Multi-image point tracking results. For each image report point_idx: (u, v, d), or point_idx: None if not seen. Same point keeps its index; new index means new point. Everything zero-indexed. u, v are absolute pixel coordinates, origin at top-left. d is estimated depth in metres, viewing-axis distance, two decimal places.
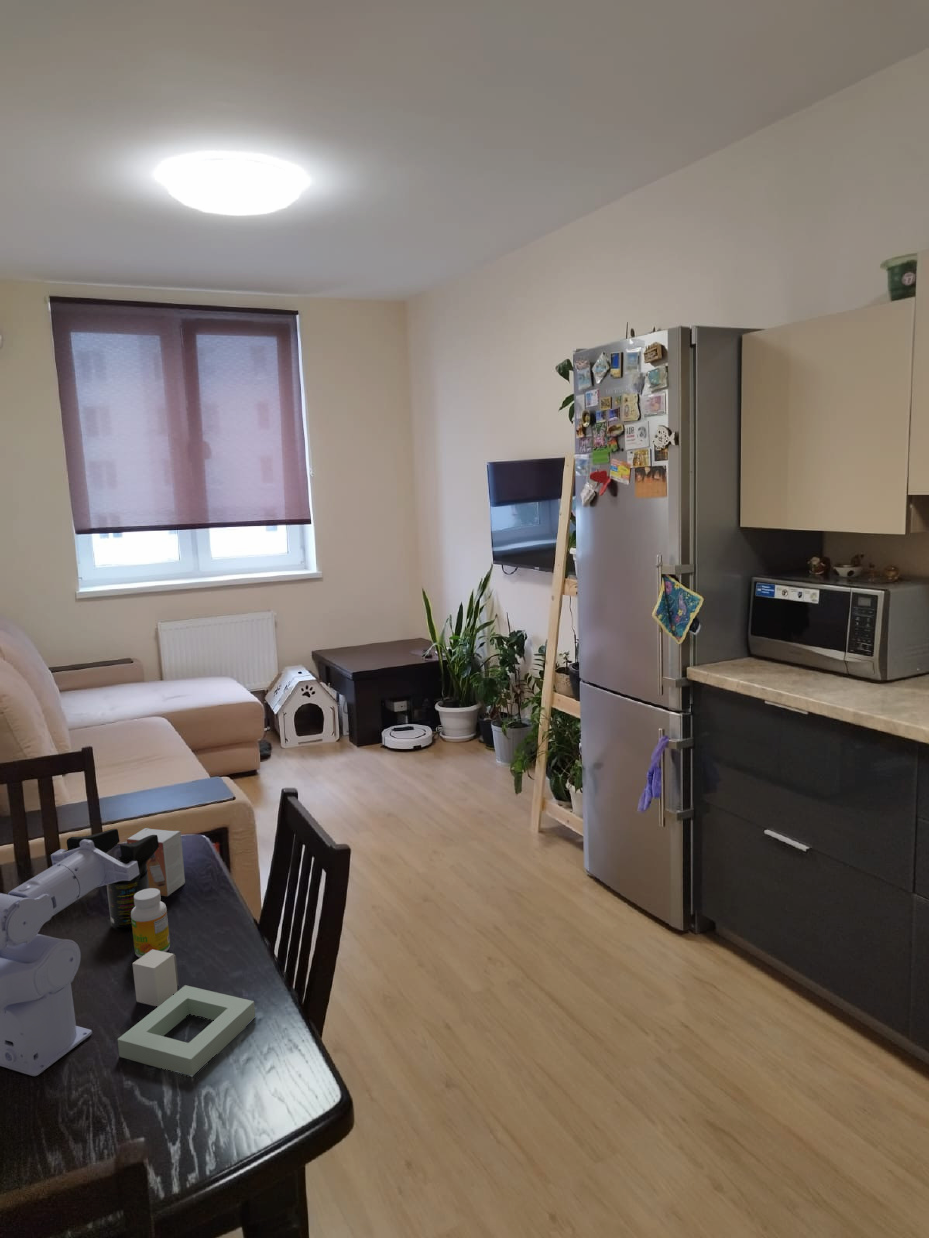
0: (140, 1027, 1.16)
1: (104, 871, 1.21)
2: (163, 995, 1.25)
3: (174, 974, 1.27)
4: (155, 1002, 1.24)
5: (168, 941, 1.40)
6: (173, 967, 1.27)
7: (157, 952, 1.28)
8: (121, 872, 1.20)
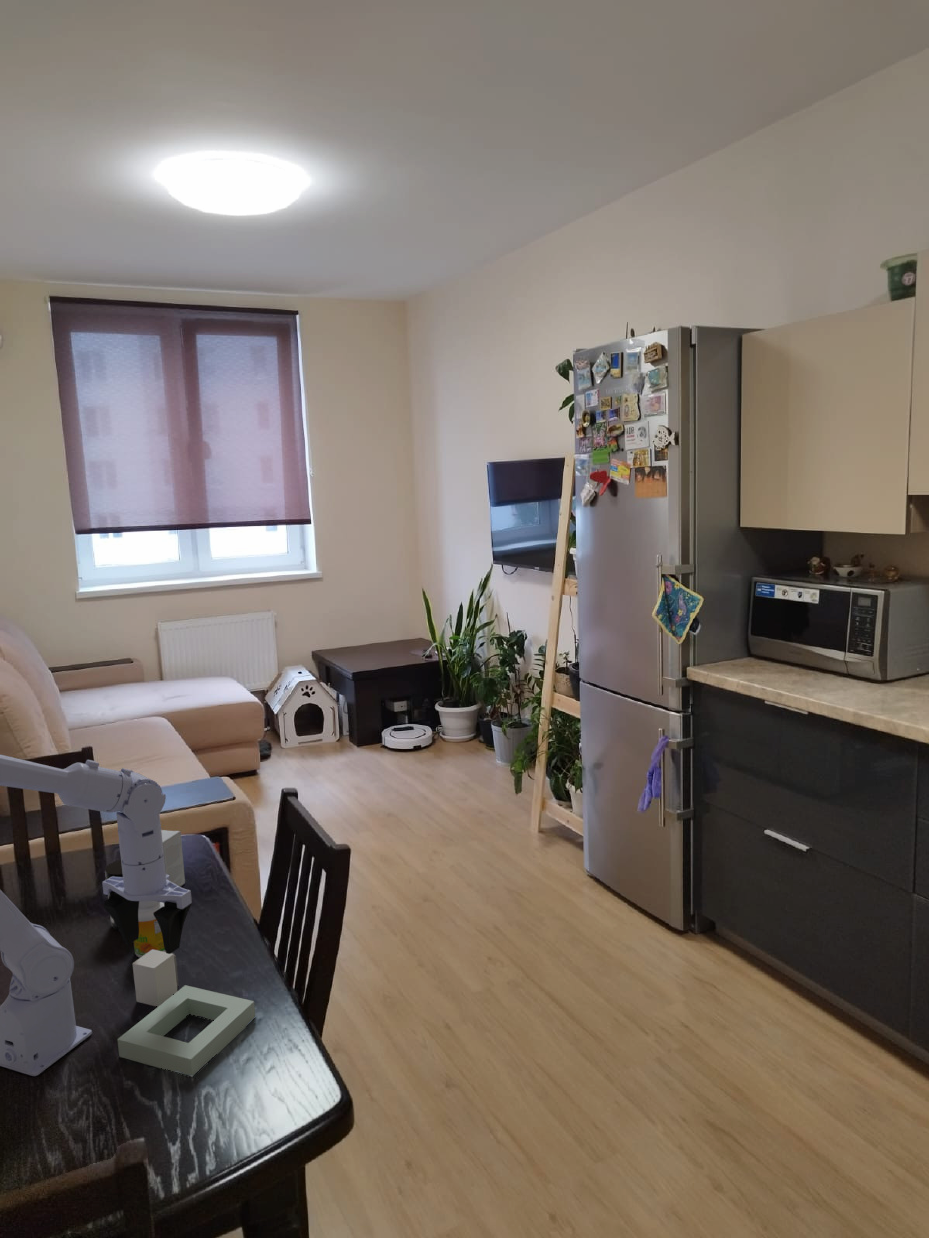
0: (140, 1027, 1.16)
1: (160, 888, 1.23)
2: (163, 995, 1.25)
3: (174, 974, 1.27)
4: (155, 1002, 1.24)
5: None
6: (173, 967, 1.27)
7: (157, 952, 1.28)
8: (178, 891, 1.22)
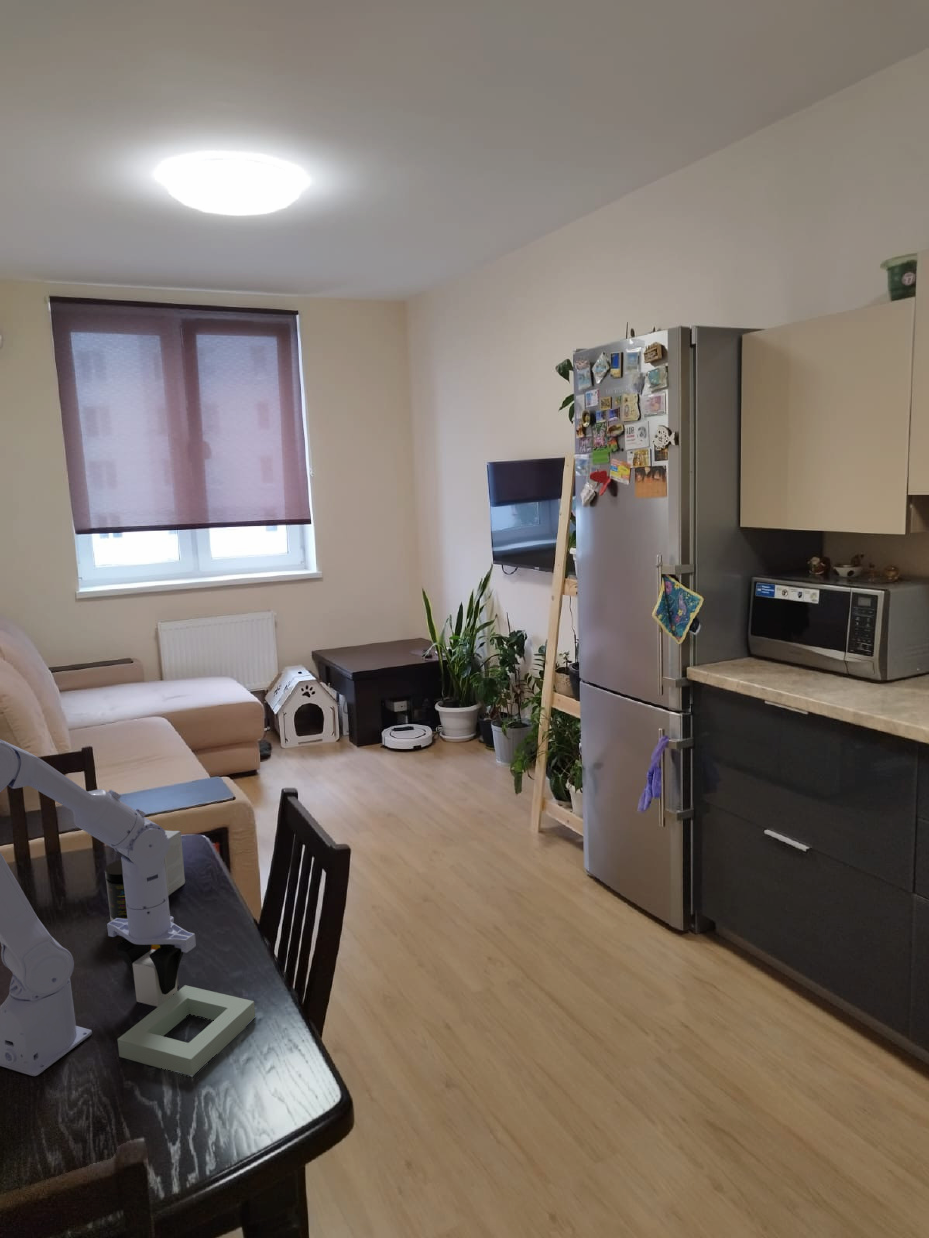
0: (140, 1027, 1.16)
1: (165, 931, 1.24)
2: (163, 995, 1.25)
3: None
4: (155, 1002, 1.24)
5: None
6: None
7: None
8: (183, 935, 1.23)
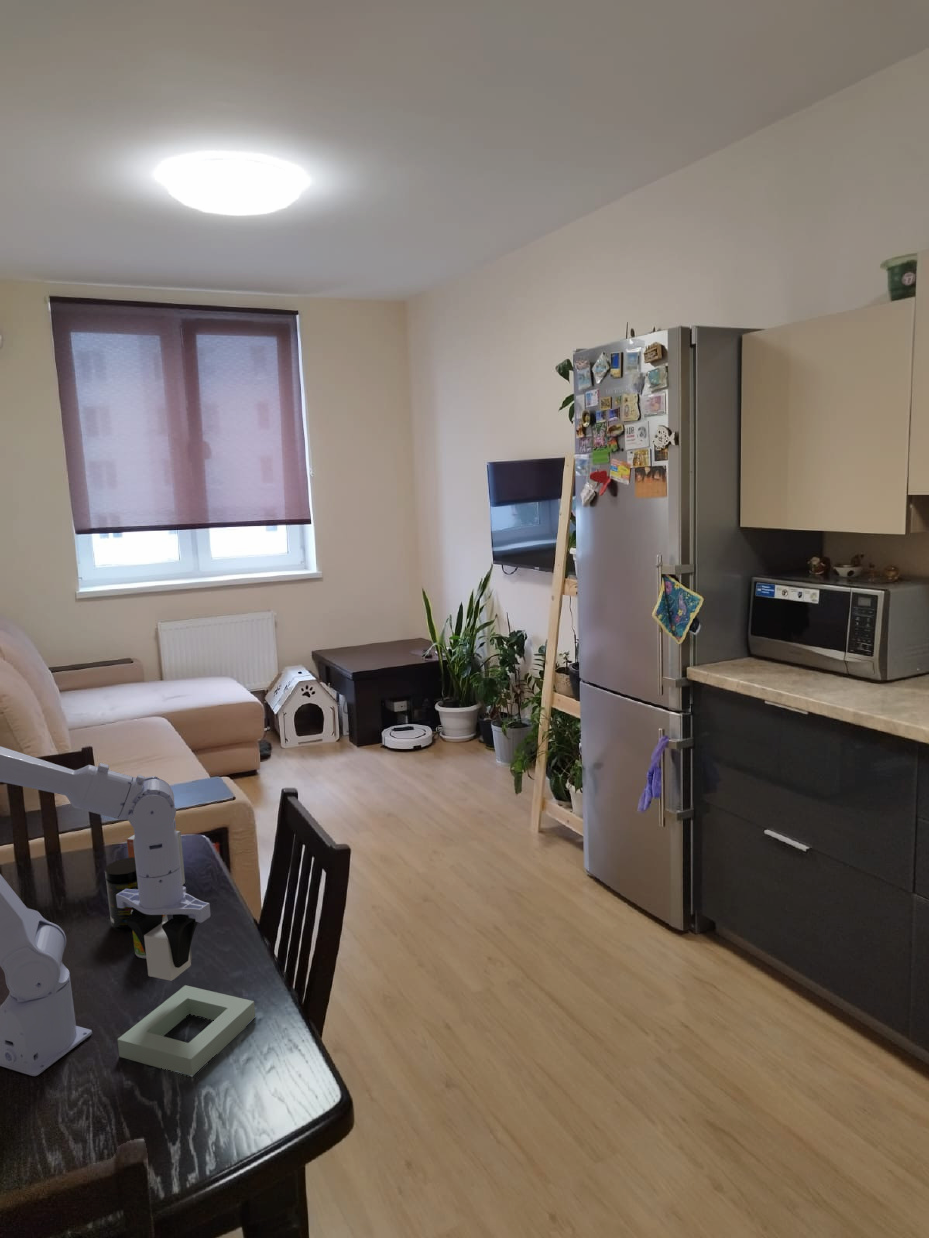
0: (140, 1027, 1.16)
1: (178, 901, 1.18)
2: (177, 969, 1.19)
3: None
4: (168, 976, 1.18)
5: None
6: None
7: None
8: (197, 904, 1.17)
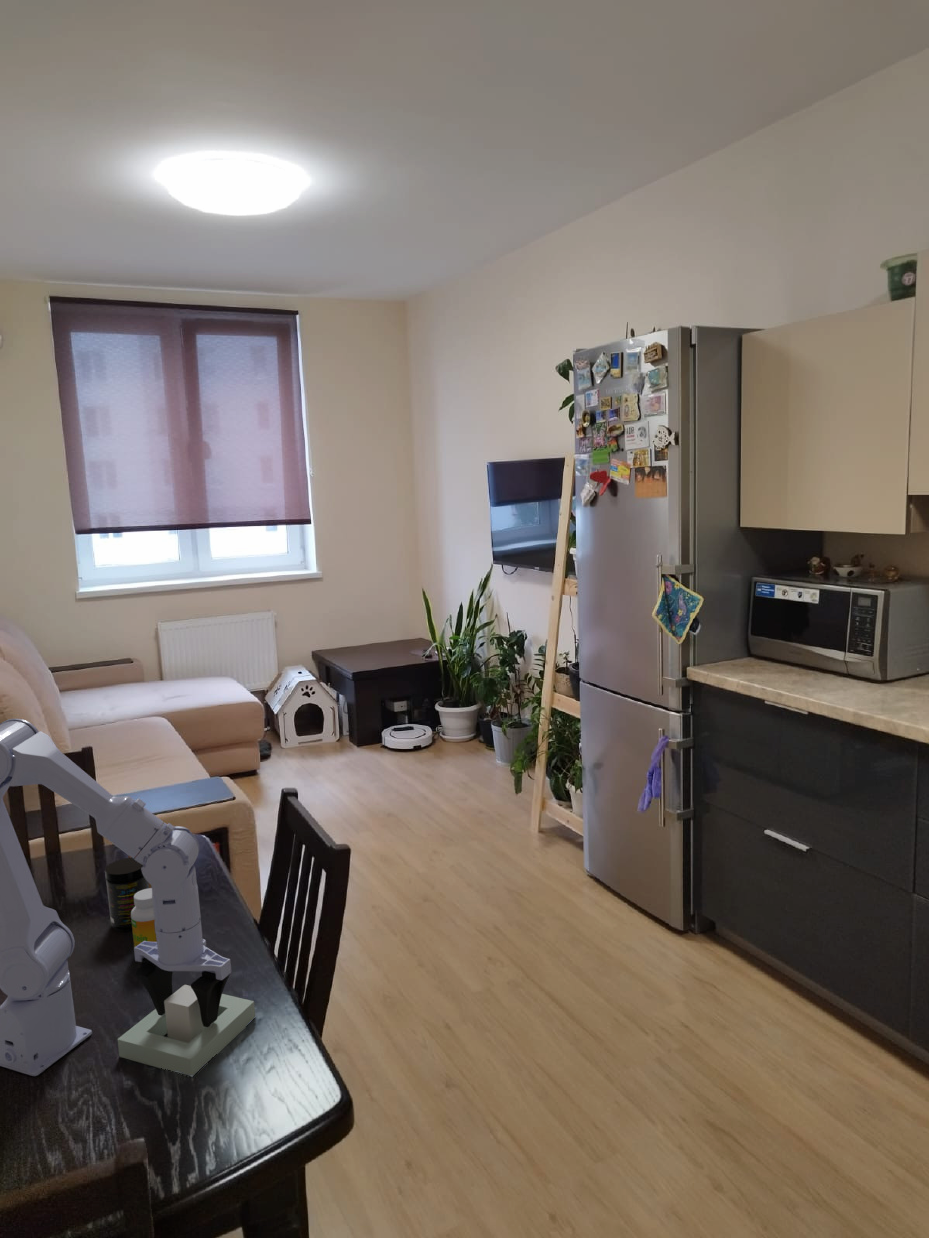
0: (140, 1027, 1.16)
1: (197, 956, 1.14)
2: None
3: None
4: None
5: None
6: None
7: (190, 987, 1.18)
8: (217, 961, 1.13)
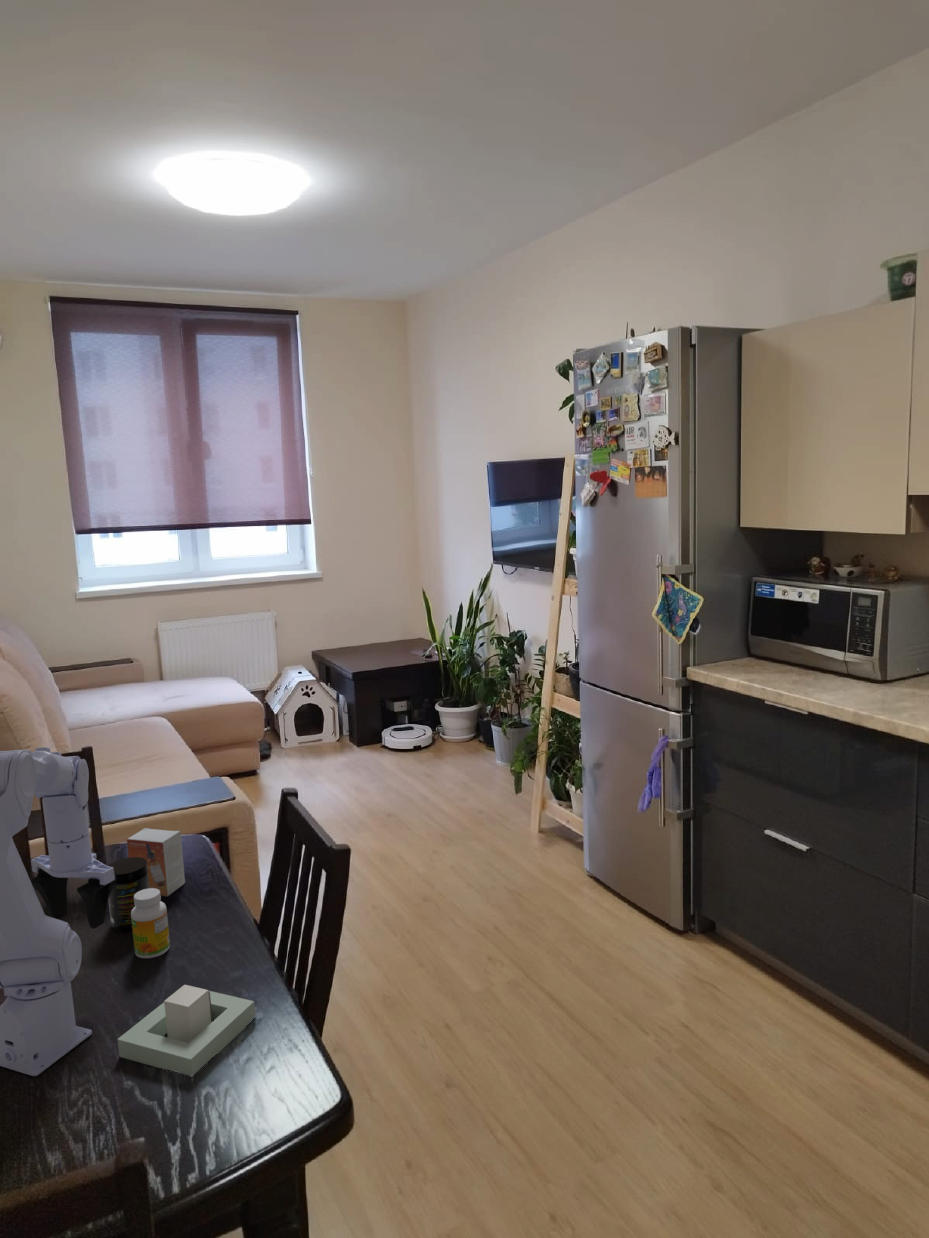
0: (140, 1027, 1.16)
1: (85, 866, 1.28)
2: None
3: (208, 1012, 1.18)
4: None
5: (168, 941, 1.40)
6: (207, 1004, 1.17)
7: (190, 987, 1.18)
8: (102, 868, 1.27)
